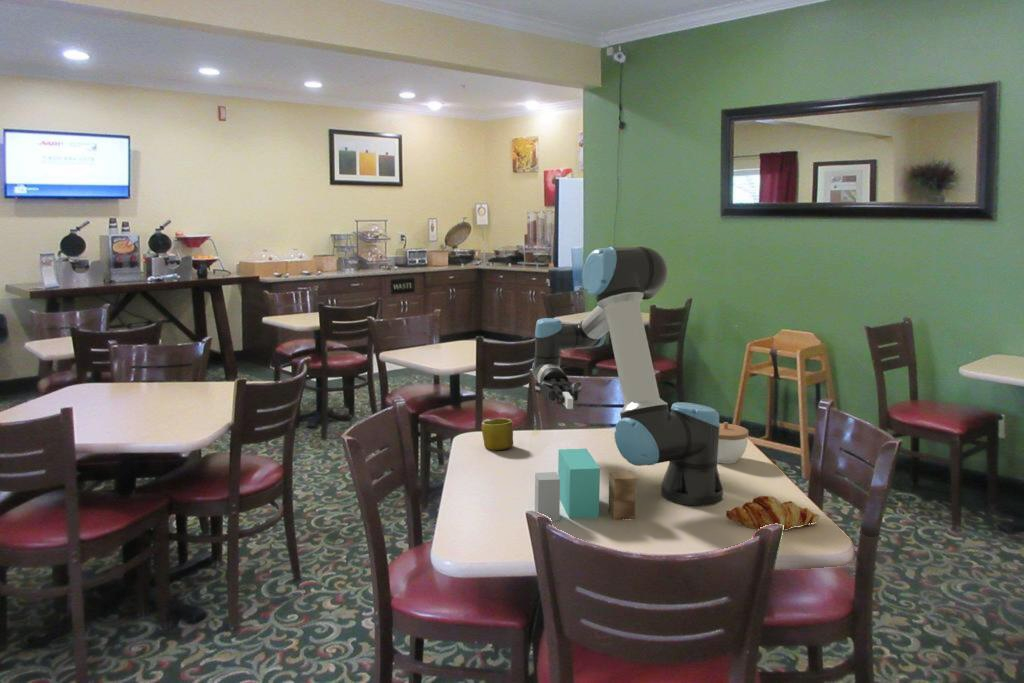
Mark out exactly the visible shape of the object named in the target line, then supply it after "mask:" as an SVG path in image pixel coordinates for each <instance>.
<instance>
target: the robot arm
mask: <svg viewBox="0 0 1024 683" xmlns="http://www.w3.org/2000/svg"><path fill="white" fill-rule="evenodd" d="M582 268H583V269H582V273H581V274H582V276H581V277H582V285H583V288H584V290H585V292H586V293H587V294H588V295H589V296H592V297H595V299H596V304H597V306H596V307H595V308H593V310H592V311H590V313H588V314H587V315H586V316H585V317H584V318H583V319H582V320H581V321H580V322H578V323H569V324H563V322H562V321H561V320H560V319H559V318H552V317H550V318H549V317H545V318H543V317H542V318H539V319H538V320H536V324H535V332H534V338H535V340H534V341H535V342H534V345H535V346H534V349H535V350H534V351H535V352H534V361H533V362H532V367H531V370H532V375H533V377H534V379H535V380H536V381H537V382H535V383H534V384H535V385H534V386H535V387H534V388H535V389H534V392H535V393H538V394H540V395H542V396H543V397H545V398H547V399H548V400H549V401H552V402H553V401H555V400H556V401H557V402H556V403H557V404H558V405H562V404H563V405H564V407H565V408H566V410H574V403H575V401H578V398H579V393H581V392H582V391H581V390H582V382H580V381H578V382H574V383H573V382H572V381H570V380H569V378H568V376H567V374H566V373H565V371H564V370H562V368H561V354H562V351H568V350H581V349H594V348H598V347H601V346H603V345H604V343H605V341H606V338H607V333H608V332H609V337H610V342H611V346H612V352H613V356H614V360H615V366H616V370H617V375H618V379H619V384H620V389H621V393H622V399H623V404H624V405H623V407H622V408H621V410H620V411H619V416H620V420H618V422H616V425H615V426H614V429H615V430H614V441H615V445H616V446H617V447H616V448H617V451H619V453H620V456H622V457H623V459H624V460H626V461H627V462H628V463H629V464H631V465H633V466H636V467H641V466H654V465H656V464H661V463H666V462H668V466H667V469H666V471H665V474H664V477H663V479H662V481H661V484H660V485H661V486H660V494H661V495H662V497H663V498H664V499H666V500H668V501H671V502H672V503H673V502H674V503H677V504H681V505H684V506H685V505H686V506H695V507H696V506H698V507H701V506H711V505H715V504H719V503H720V502H722V500H723V498H724V497H723V496H724V487H723V484H722V479H721V478H720V476H721V475H720V473H719V471H718V463H717V457H718V442H719V428H720V425H719V423H720V413H719V412H718V411H717V410H716V409H714V408H713V407H710V406H707V405H703V404H698V403H693V402H679V401H677V402H674V403H672V405H671V407H669V405H668V402H666V401H665V400H663V399H662V398H660V394H659V393H660V392H659V388H658V384H657V379H656V375H655V374H656V373H655V370H654V366H653V361H652V356H651V351H650V347H649V342H648V338H647V333H646V329H645V324H644V319H643V315H642V311H641V306H640V303H642V302H643V301H649V300H650V299H652V298H653V297H654V296H656V295H657V294H658V293H659V292H661V289H663V287H664V285H665V283H666V281H667V278H668V266H667V263H666V261H665V259H664V256H662V254H660V253H659V252H658V251H656V249H653V248H651V247H647V246H637V247H636V246H630V247H629V246H623V247H622V246H621V247H620V246H619V247H617V246H616V247H615V246H614V247H613V246H607V247H602V248H599V247H598V248H596V249H594V250H593V251H591V252H590V254H588V256H587V258H586V260H585V263H584V264H583V267H582ZM669 408H670V409H669ZM670 410H671V411H670Z"/></svg>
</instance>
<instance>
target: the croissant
mask: <svg viewBox="0 0 1024 683" xmlns="http://www.w3.org/2000/svg"><path fill="white" fill-rule="evenodd" d="M725 515H726V518H728V520H730V521H732V522H734V523H738V524H741V525H742V526H744V527H746V528H750V529H758V528H760V527H763V526H765V525H769V524H775V523H778V524H782V525H784V530H783V531H786V530H785V529H789V528H791V527H794V526H801V525H805V524H809V523H810V524H811V523H815V522H817V523H818V522H819V520H820V515H819V514H818V513H814V512H813V511H811V510H810V509H809V508H808V507H805V508H804V507H803V508H802V507H801V506H799V505H796V504H795V503H794V502H793V501H792V500H789V501H783V502H781V501H780V499H778V498H776V497H774V496H771V495H758V496H757V497H754V498H753V499H752V501H747V502H745V503H744V504H743V505H742V507H741V506H736V507H733V508H732V509H731V510H726V511H725ZM815 524H816V523H815ZM805 526H806V525H805ZM758 530H759V529H758ZM789 530H790V529H789Z"/></svg>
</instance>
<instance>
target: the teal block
mask: <svg viewBox="0 0 1024 683" xmlns="http://www.w3.org/2000/svg"><path fill="white" fill-rule="evenodd" d="M557 453H558V457H557V459H558V460H557V462H558V464H557V466H558V467H557V468H558V470H557V474H558V476H559V478H560V504H561V505H562V507H563V509H564V510H565V513H566V515H567V517H568V519H573V520H574V519H592V518H595V519H596V518H600V493H601V490H600V488H601V486H600V484H601V467H600V466H599V465H598V463H597V462H596V460H595V459H594V458H593V456H592V455H591V453H590V452H589V451H588V449H587V448H570V449H569V448H565V449H564V448H562V449H561V448H559V449H558V452H557Z"/></svg>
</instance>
